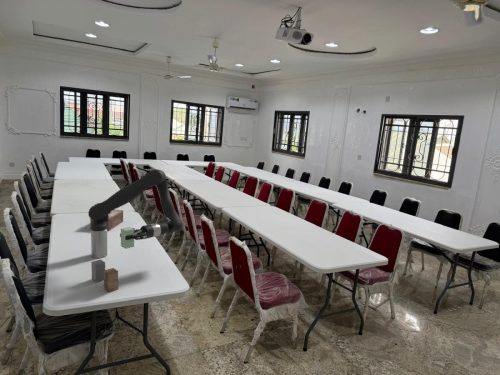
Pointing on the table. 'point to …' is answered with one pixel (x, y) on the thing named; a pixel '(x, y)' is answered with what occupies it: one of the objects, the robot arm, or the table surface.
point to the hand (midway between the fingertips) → (123, 236)
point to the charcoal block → (98, 270)
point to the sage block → (127, 232)
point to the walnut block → (111, 280)
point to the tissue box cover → (113, 219)
